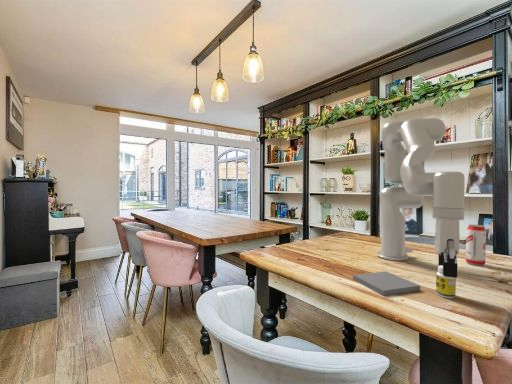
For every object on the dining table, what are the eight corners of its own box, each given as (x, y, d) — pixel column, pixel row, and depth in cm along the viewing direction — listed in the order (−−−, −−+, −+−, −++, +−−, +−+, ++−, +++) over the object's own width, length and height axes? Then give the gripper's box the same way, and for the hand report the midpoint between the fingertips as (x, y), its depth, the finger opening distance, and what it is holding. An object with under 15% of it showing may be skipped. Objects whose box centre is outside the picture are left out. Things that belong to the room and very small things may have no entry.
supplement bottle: (432, 292, 82) (432, 265, 81) (446, 291, 82) (447, 264, 82) (444, 299, 77) (445, 270, 76) (459, 298, 77) (460, 269, 77)
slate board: (386, 275, 96) (386, 271, 96) (420, 290, 83) (420, 285, 83) (353, 279, 92) (353, 275, 92) (383, 295, 79) (383, 290, 79)
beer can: (482, 263, 112) (483, 225, 112) (487, 267, 106) (488, 227, 106) (463, 261, 115) (464, 224, 114) (468, 265, 109) (469, 226, 109)
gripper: (429, 211, 88) (429, 263, 88) (436, 215, 73) (435, 278, 73) (458, 212, 84) (457, 266, 84) (471, 217, 69) (470, 283, 69)
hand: (447, 272), depth 79 cm, fingers open, 9 cm apart
